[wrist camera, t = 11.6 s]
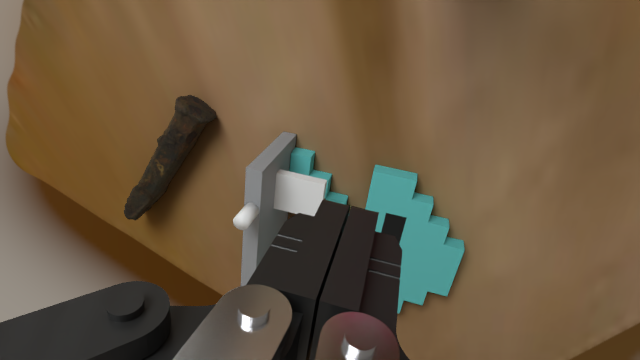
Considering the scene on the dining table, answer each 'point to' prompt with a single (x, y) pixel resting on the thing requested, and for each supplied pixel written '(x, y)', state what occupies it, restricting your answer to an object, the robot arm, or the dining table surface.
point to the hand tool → (169, 153)
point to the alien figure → (403, 227)
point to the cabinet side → (273, 200)
